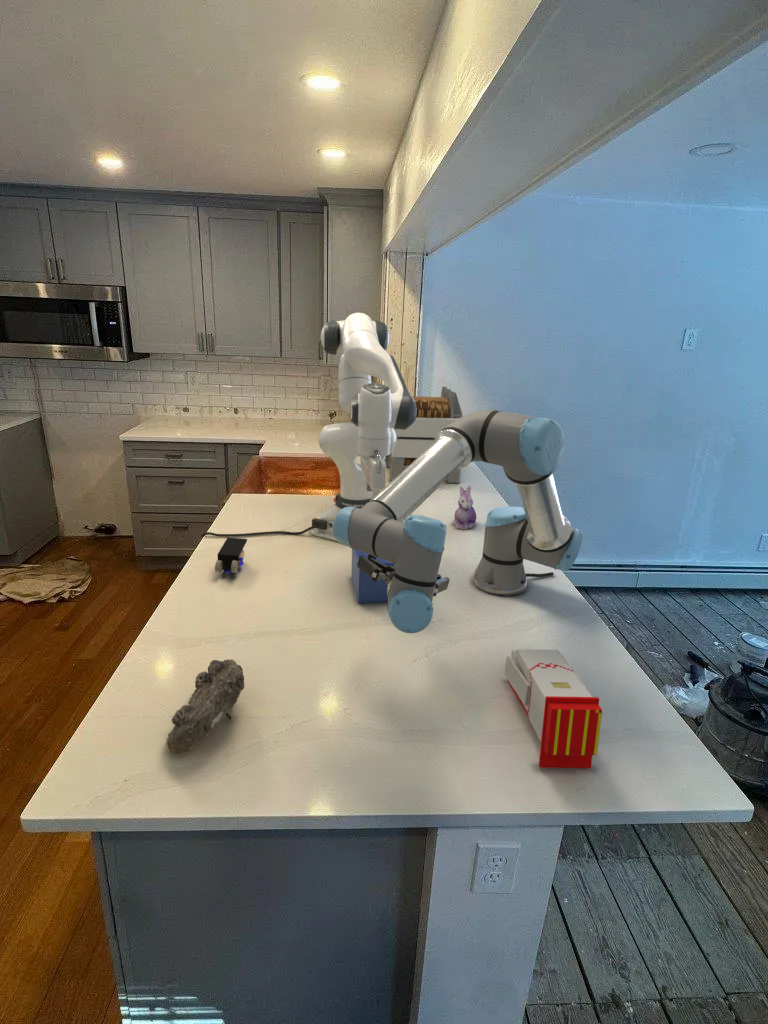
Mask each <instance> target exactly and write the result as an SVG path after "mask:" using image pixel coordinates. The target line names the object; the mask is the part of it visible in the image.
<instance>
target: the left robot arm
mask: <svg viewBox="0 0 768 1024" xmlns="http://www.w3.org/2000/svg"><path fill="white" fill-rule="evenodd" d="M389 343H390V332H389V329H388V325H387V324H386V323H385V322H384V321H381V320H376V319H375V320H372V318H371V317H370V316H369V315H367V314H366V313H363V312H353V313H351V314H350V315H348V316H347V317H346V318H345V319H344V320H336V319H335V320H329V321H326V322H325V323H324V324H323V326H322V329H321V331H320V344H321V346H322V348H323V351H324V352H325V353H327V354H328V355H333V356H336V355H340V358H339V361H338V362H339V363H338V373H337V383H338V385H337V387H338V403H339V406H340V408H341V409H342V410H343V412H345V413H346V414H348V415H349V421H350V422H336V423H330V424H326V425H323V427H322V429H321V430H320V432H319V435H318V445H319V447H320V450H321V451H322V452H323V454H325V455H326V456H328V457H329V458H330V459H331V460H332V462H333V463H334V464H335V466H336V467H337V470H338V474H339V483H340V484H339V485H340V488H339V489H340V490H339V491H338V492H337V494H336V495H335V496H334V497H333V502H334V504H333V505H331V506H329V507H328V508H326V509H325V510H323V512H321V514H320V515H319V517H318V518H316V517H314V518H312V519H311V526H309V527H308V528H305V529H304V530H302V531H286V530H285V531H284V530H273V531H259V532H247V533H216V532H211V531H207V532H204V533H203V534H201V535H200V538H204V537H205V536H214V537H223V538H225V537H226V538H236V537H250V536H251V537H252V536H263V535H277V534H281V535H282V534H284V535H293V536H298V535H304V534H305V533H307V532H309V531H310V533H311V536H315V537H319V538H323V539H326V540H330V541H336V542H338V541H337V540H336V538H335V536H334V532H333V525H334V520H335V518H336V516H337V514H338V513H339V512H340V511H341V510H342V509H343V508H345V507H349V506H351V507H358V508H362V507H363V506H364V505H366V504H367V503H368V502H369V501H370V500H371V499H372V498H373V497H374V496H376V495H377V494H378V493H379V492H380V491H381V490H382V489H383V488H385V487H386V486H387V484H386V483H387V466H386V464H385V461H384V460H385V456H387V455H389V454H390V453H391V452H392V451H393V450H394V448H395V446H396V442H397V437H396V433H395V431H394V429H402V430H405V429H407V428H408V427H410V426H411V425H412V424H413V423H414V422H415V420H416V414H417V409H416V403H415V400H414V398H413V397H412V396H413V395H412V394H411V392H410V391H409V389H408V386H407V384H406V381H405V379H404V376H403V374H402V373H401V370H400V368H399V365H398V364H397V361H396V359H395V357H394V356H393V355H392V354H391V353H389V352H387V351H386V350H387V349H388V346H389ZM372 377H374V378H376V379H377V378H378V379H380V380H382V382H383V381H384V382H385V383H386V384H383V383H378V382H372ZM393 428H394V429H393ZM358 457H359V458H360V463H359V462H357V458H358Z"/></svg>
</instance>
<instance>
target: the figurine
mask: <svg viewBox="0 0 768 1024" xmlns="http://www.w3.org/2000/svg"><path fill="white" fill-rule="evenodd" d="M471 493H472V485H468V486H467V487H466V489H464V487H463V486H461V485H460V486H459V498H458V500H457V505H458V507H457V509H456V510H455V512H454V520H453V525H454V526H455V527H456V528H457V529H461V530H468V529H472V528H473V527H475V525H476V521H477V513H476V510H475V508H474V507H473V504H474V500H473V498H472V496H471Z"/></svg>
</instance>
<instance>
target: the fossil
mask: <svg viewBox="0 0 768 1024" xmlns="http://www.w3.org/2000/svg"><path fill="white" fill-rule="evenodd" d="M243 670H244V669H243V667H242V665H240V664H237V662H236V661H235V660H234V659H232V658H231V659H227V658H226V659H224V660H223V661H222V660H217V659H212V660H211V661H210V663H209V665H208V666H207V671H201V672H199V673H198V674H197V675H196V676H195V680H194V684H195V685H194V687H195V689H194V690H193V693H192V694H191V697H190V698H189V700H188V704H184V705H182V706H181V707H180V709H177V710H176V711H175V713H174V715H173V716H172V718H171V723H172V724H173V727H172V730H171V731H170V732H168V734H167V738H166V741H167V742H166V745H167V749H168V750H169V751H173V752H174V753H176V754H178V753H182V752H188V751H189V752H192V751H193V750H195V748H196V747H197V746H199V744H200V743H201V742H203V741H204V740H205V739H206V738H207V737H208V736H209V735H210V734H211V733H212V732H214V730H215V729H217V727H218V726H219V724H220V722H221V721H222V720H223V719H224V718H225V716H226V717H227V719H229V720H233V717H232V715H230V714H229V710H230V709H231V708H234V706H235V704H236V703H237V702H238V699H239V697H240V695H241V693H242V691H243V690H245V689H244V688H245V675H244V671H243Z"/></svg>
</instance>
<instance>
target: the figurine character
mask: <svg viewBox="0 0 768 1024" xmlns="http://www.w3.org/2000/svg"><path fill="white" fill-rule="evenodd" d="M247 542H248V538H240V537H226V539H225V541H224V543H223V544H222V546H221V547H220V549H219V551H218V552H217V560H216V562H215V564H214V572H215V573H221V577H222V578H224V577H225V576H226V574H227V573H230V574H231V573H232V574H231V578H234V577H235V575H236V573H237V572H239V571H240V567H242V566H243V565H244V564H245V562H244V558H245V551H244V547H245V546H246V544H247Z"/></svg>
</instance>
